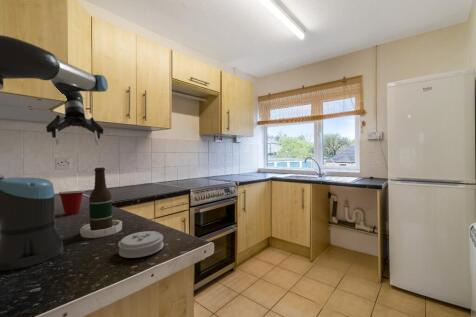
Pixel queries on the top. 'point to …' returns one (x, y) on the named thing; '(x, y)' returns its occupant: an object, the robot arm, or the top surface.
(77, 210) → the plastic cup
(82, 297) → the top surface
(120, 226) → the dish
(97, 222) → the beer bottle
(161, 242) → the lid
